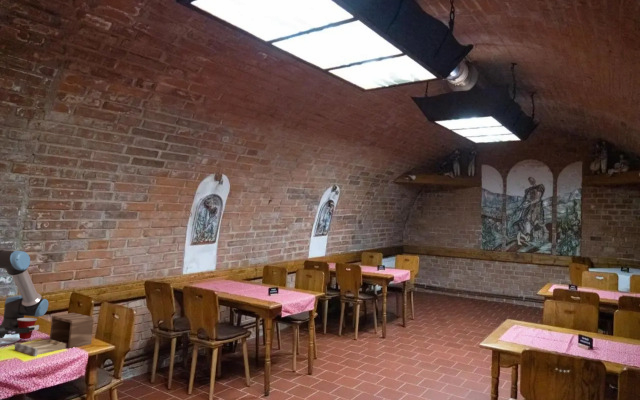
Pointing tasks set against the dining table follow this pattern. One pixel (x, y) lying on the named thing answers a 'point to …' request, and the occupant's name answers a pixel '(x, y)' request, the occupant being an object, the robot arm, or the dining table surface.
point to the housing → (72, 329)
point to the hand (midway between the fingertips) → (33, 326)
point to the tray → (40, 347)
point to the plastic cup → (26, 323)
